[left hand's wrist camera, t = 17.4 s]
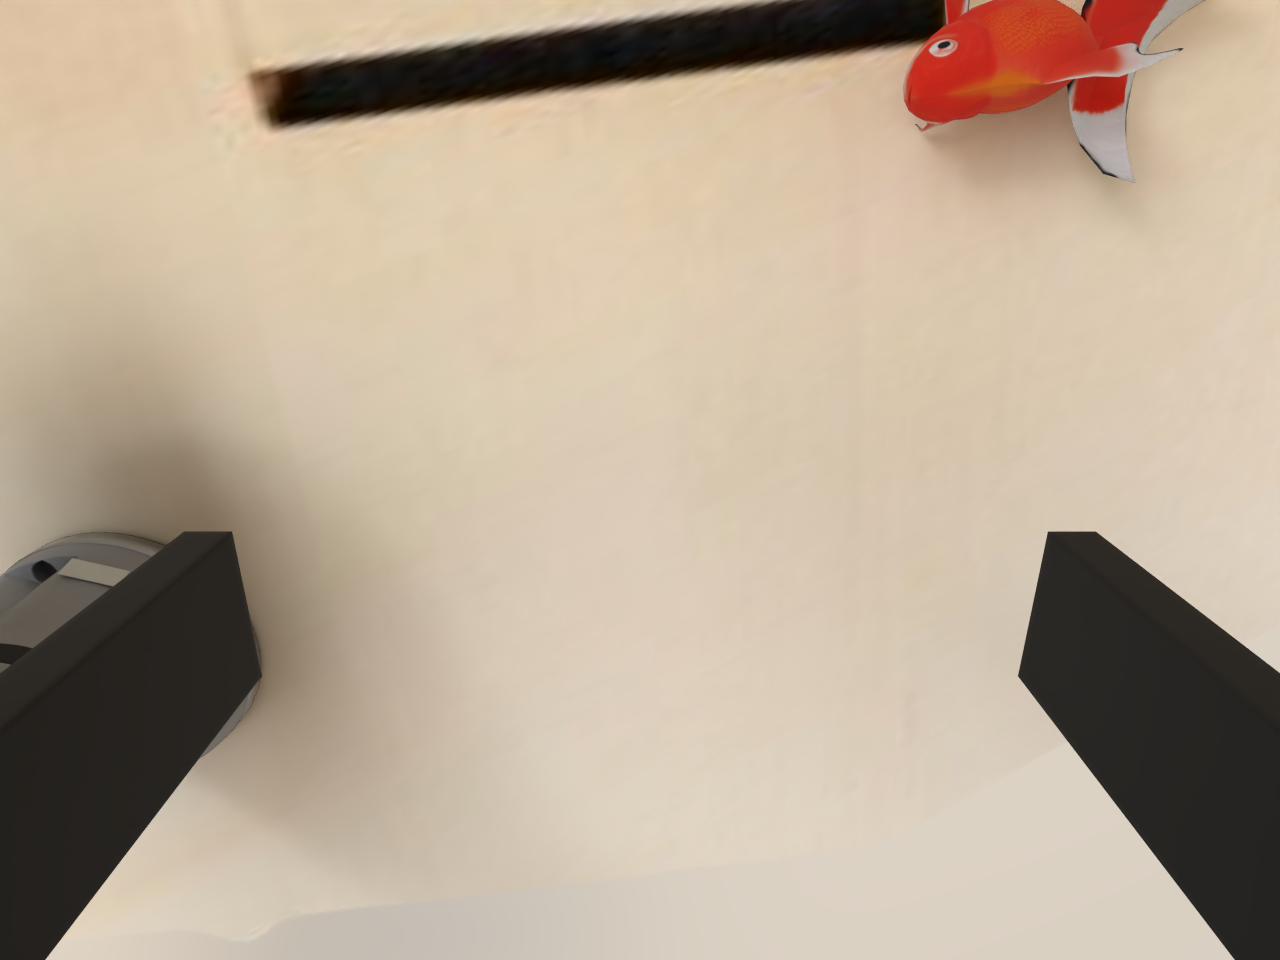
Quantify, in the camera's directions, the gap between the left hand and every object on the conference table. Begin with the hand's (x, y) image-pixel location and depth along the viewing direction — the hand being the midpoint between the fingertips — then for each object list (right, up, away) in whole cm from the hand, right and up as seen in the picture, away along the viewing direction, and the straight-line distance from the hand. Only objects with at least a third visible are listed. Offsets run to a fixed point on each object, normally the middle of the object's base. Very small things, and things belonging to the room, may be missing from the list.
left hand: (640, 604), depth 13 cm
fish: (+18, +22, +23) cm, 36 cm away
